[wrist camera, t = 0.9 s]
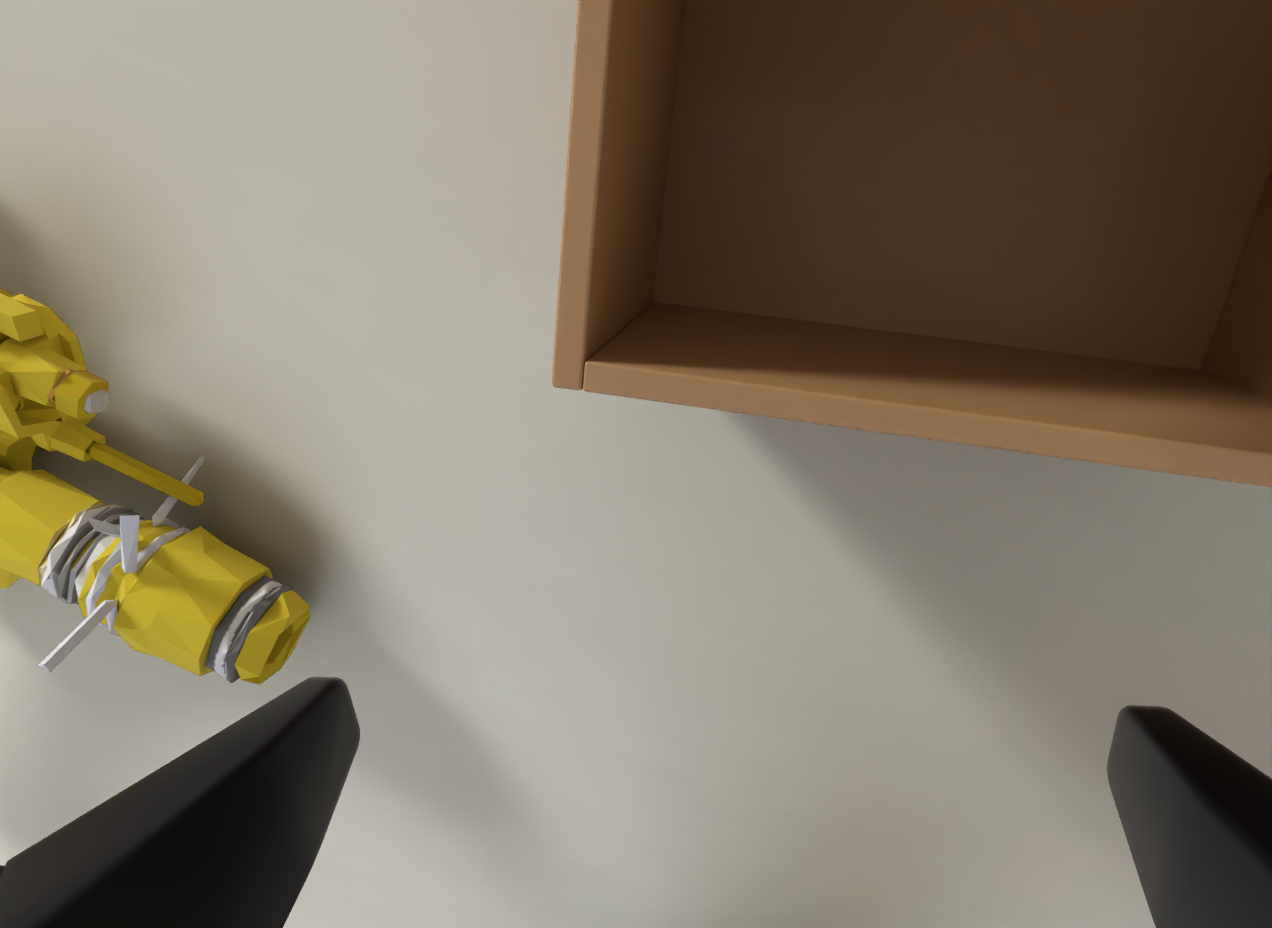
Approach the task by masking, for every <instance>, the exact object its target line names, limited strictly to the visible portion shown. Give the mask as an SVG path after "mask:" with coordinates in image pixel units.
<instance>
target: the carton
mask: <svg viewBox="0 0 1272 928" xmlns="http://www.w3.org/2000/svg"><path fill="white" fill-rule="evenodd" d="M552 384H553V386H554V387H557V388H565V389H572V390H581V389H582V388H583V390H584V391H586V392H593V393H600V394H607V395H615V396H622V397H629V398H636V399H643V400H650V401H658V402H665V403H672V404H679V405H686V406H693V407H700V408H708V409H715V410H722V411H729V412H736V413H743V414H751V415H758V416H765V417H772V418H779V419H786V420H793V421H801V422H808V423H815V424H822V425H829V426H836V427H844V428H851V429H858V430H865V431H872V432H879V433H886V434H894V435H901V436H908V437H915V438H922V439H929V440H937V441H944V442H951V443H958V444H965V445H972V446H979V447H987V448H994V449H1001V450H1008V451H1015V452H1022V453H1030V454H1037V455H1044V456H1051V457H1058V458H1065V459H1072V460H1080V461H1087V462H1094V463H1101V464H1108V465H1115V466H1123V467H1130V468H1137V469H1144V470H1151V471H1158V472H1166V473H1173V474H1180V475H1187V476H1194V477H1201V478H1208V479H1216V480H1223V481H1230V482H1237V483H1244V484H1251V485H1259V486H1266V487H1272V0H578V9H577V24H576V39H575V53H574V68H573V83H572V97H571V112H570V127H569V141H568V156H567V171H566V186H565V200H564V215H563V230H562V244H561V259H560V274H559V288H558V303H557V318H556V332H555V347H554V362H553V376H552Z"/></svg>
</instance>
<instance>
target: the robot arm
mask: <svg viewBox="0 0 1272 928" xmlns="http://www.w3.org/2000/svg"><path fill="white" fill-rule="evenodd" d="M359 740H360V728H359V723H358V720H357V717H356V713H355V710H354V707H353V703H352V700H351V697H350V694H349V690H348V687H347V685H346V683H345V682H344V681H343V680H342V679H339V678H331V677H312V678H308V679H306V680H305V681H303V682H301V683H300V684H298V685H296V686H295V687H293V688H291V689H290V690H288V691H286V692H285V693H283V694H282V695H280V696H278V697H277V698H275V699H273V700H272V701H270V702H268V703H267V704H265V705H263V706H262V707H260V708H258V709H257V710H255V711H254V712H252V713H250V714H249V715H247V716H245V717H244V718H242V719H240V720H239V721H237V722H235V723H234V724H232V725H230V726H229V727H227V728H226V729H224V730H222V731H221V732H219V733H217V734H216V735H214V736H212V737H211V738H209V739H207V740H206V741H204V742H202V743H201V744H199V745H197V746H196V747H194V748H193V749H191V750H189V751H188V752H186V753H184V754H183V755H181V756H179V757H178V758H176V759H174V760H173V761H171V762H169V763H168V764H166V765H165V766H163V767H161V768H160V769H158V770H156V771H155V772H153V773H151V774H150V775H148V776H146V777H145V778H143V779H141V780H140V781H138V782H137V783H135V784H133V785H132V786H130V787H128V788H127V789H125V790H123V791H122V792H120V793H118V794H117V795H115V796H113V797H112V798H110V799H108V800H107V801H105V802H104V803H102V804H100V805H99V806H97V807H95V808H94V809H92V810H90V811H89V812H87V813H85V814H84V815H82V816H80V817H79V818H77V819H76V820H74V821H72V822H71V823H69V824H67V825H66V826H64V827H62V828H61V829H59V830H57V831H56V832H54V833H52V834H51V835H49V836H48V837H46V838H44V839H43V840H41V841H39V842H38V843H36V844H34V845H33V846H31V847H29V848H28V849H26V850H24V851H23V852H21V853H19V854H18V855H16V856H15V857H13V858H11V859H10V860H8V862H7V863H6V865H5V866H2V865H1V866H0V928H283V926H284V924H285V922H286V920H287V918H288V916H289V914H290V912H291V910H292V908H293V906H294V904H295V901H296V899H297V897H298V895H299V893H300V891H301V889H302V887H303V885H304V883H305V881H306V879H307V877H308V874H309V872H310V870H311V868H312V866H313V864H314V861H315V859H316V857H317V854H318V852H319V849H320V847H321V844H322V842H323V839H324V836H325V834H326V831H327V828H328V826H329V823H330V820H331V818H332V815H333V812H334V810H335V807H336V804H337V802H338V799H339V796H340V794H341V791H342V788H343V786H344V783H345V780H346V778H347V775H348V772H349V770H350V767H351V765H352V762H353V759H354V757H355V754H356V751H357V748H358V745H359ZM1107 772H1108V780H1109V785H1110V788H1111V791H1112V794H1113V797H1114V801H1115V804H1116V807H1117V810H1118V813H1119V816H1120V819H1121V822H1122V825H1123V829H1124V832H1125V835H1126V838H1127V841H1128V844H1129V847H1130V850H1131V853H1132V856H1133V860H1134V863H1135V866H1136V869H1137V872H1138V875H1139V878H1140V881H1141V884H1142V888H1143V891H1144V894H1145V897H1146V900H1147V903H1148V906H1149V909H1150V912H1151V915H1152V918H1153V920H1154V923H1155V926H1156V928H1272V779H1271V778H1270V777H1268V776H1267V775H1265V774H1264V773H1262V772H1261V771H1259V770H1258V769H1257V768H1255V767H1254V766H1252V765H1251V764H1249V763H1248V762H1246V761H1245V760H1243V759H1242V758H1240V757H1239V756H1238V755H1236V754H1235V753H1233V752H1232V751H1230V750H1229V749H1227V748H1226V747H1224V746H1223V745H1222V744H1220V743H1219V742H1217V741H1216V740H1214V739H1213V738H1211V737H1210V736H1208V735H1207V734H1205V733H1204V732H1203V731H1201V730H1200V729H1198V728H1197V727H1195V726H1194V725H1192V724H1191V723H1189V722H1188V721H1187V720H1185V719H1184V718H1182V717H1181V716H1179V715H1178V714H1176V713H1175V712H1173V711H1171V710H1170V709H1168V708H1165V707H1159V706H1126V707H1124V708H1122V710H1121V711H1120V713H1119V715H1118V718H1117V722H1116V727H1115V731H1114V736H1113V740H1112V745H1111V749H1110V753H1109V758H1108V764H1107Z"/></svg>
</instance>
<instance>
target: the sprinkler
mask: <svg viewBox="0 0 1272 928" xmlns="http://www.w3.org/2000/svg"><path fill="white" fill-rule="evenodd" d="M109 397H110V393H108V382H107V381H105V380H103V379H101V378H99V377H97V376H95V375H93V374H91V373H89V372H88V370H87V368H86V365H85V361H84V358H83V354H82V350H81V347H80V343H79V340H78V337H77V336H76V335H75V334H74V333H73V332H72V331H71V330H70V328H69V327H68V326H67V325H66V324H65V323H64V322H63V321H62V320H61V319H60V318H59V317H58V316H57V315H56V314H55V313H54V312H53V311H52V310H51V309H50V308H49V307H47V306H45V305H43V304H41V303H39V302H37V301H35V300H33V299H31V298H29V297H27V296H25V295H23V294H19V295H17V296H14V295H12V294H10V293H8V292H6V291H4V290H2V289H0V588H8V587H9V586H10V585H12V584H13V583H14V582H16V581H17V580H18V579H19V578H21V577H22V578H24V579H27V580H29V581H31V582H33V583H35V584H37V585H39V586H41V587H42V588H43V589H45V590H46V591H47V592H49V593H50V594H51V595H52V596H54V597H55V598H56V599H58V600H59V599H62V602H65V603H69V604H73V603H74V604H79V607H80V608H81V611H82V614H83V616H84V617H87V618H86V619H85V620H84V621H83V622H82V623H81V624H80V625H79V626H78V627H77V628H76V629H75V630H74V631H73V632H72V633H71V634H70V635H69V636H67V637H66V638H65V639H64V640H63V641H62V642H61V643H60V644H59V645H58V646H57V647H56V648H55V649H54V650H53V651H52V652H51V653H50V654H49V655H48V656H47V657H46V658H45V659H44V660H43V661H42V662H41V663H40V664H39V665H38V666H39V667H41V668H43V669H46V670H48V671H50V672H51V671H52V670H53V669H54V668H55V667H56V666H57V665H58V664H59V663H60V662H61V661H62V660H63V659H64V658H65V657H66V656H67V655H68V654H69V653H70V652H71V651H72V650H73V649H74V648H75V647H76V646H77V645H78V644H79V643H80V642H81V641H82V640H83V639H84V638H85V637H86V636H87V635H88V634H89V633H90V632H91V631H92V630H93V629H94V628H95V627H96V626H97V625H98V626H101V627H105V628H108V629H109V631H110V634H114V635H118V636H121V637H122V638H123V640H124V641H125V642H126V643H127V644H128V645H129V646H130V647H131V648H132V649H133V650H135V651H138V652H142V653H145V654H149V655H152V656H156V657H159V658H161V659H163V660H165V661H168V662H170V663H172V664H174V665H177V666H179V667H181V668H183V669H185V670H188V671H190V672H192V673H194V674H196V675H199V676H202V675H204V674H206V673H209V672H211V671H215V672H216V673H218V674H219V675H221V676H222V677H224V678H225V679H226V680H228V681H230V682H231V683H233V682H234V681H236V680H237V679H239V678H241V680H244V681H248V682H252V683H256V684H261V683H263V682H264V681H265V680H267V679H268V678H269V677H271V676H272V675H273V674H275V673H276V672H278V671H279V670H280V669H281V668H282V666H283V665H284V663H285V662H286V660H287V659H288V658H289V656H290V655H291V653H292V652H293V650H294V648H295V646H296V644H297V642H298V640H299V638H300V636H301V634H302V632H303V630H304V628H305V626H306V624H307V622H308V619H309V617H310V614H309V612H308V609H309V608H310V607H311V606H310V605H309V604H307V603H306V602H305V601H304V600H303V599H302V598H301V597H300V596H299V595H298V594H297V593H295V592H294V591H293V590H291V587H289V586H287V585H285V584H283V585H282V584H280V583H278V582H276V581H275V580H273V579H272V578H273V575H272V573H271V571H270V569H269V568H268V567H266V566H264V565H262V564H261V563H259V562H257V561H255V560H253V559H252V558H250V557H248V556H246V555H244V554H242V553H241V552H239V551H237V550H235V549H233V548H232V547H230V546H228V545H226V544H224V543H223V542H221V541H220V540H219V539H217V538H216V537H214V536H213V535H212V534H210V533H209V532H208V531H206V530H205V529H203V528H202V527H201V526H200V527H198V528H196V529H194V530H193V531H190V530H189V529H187V528H185V527H181V528H179V526H178V524H176V523H174V522H173V521H171V520H169V519H167V518H165V517H166V516H167V514H168V513H169V512H170V510H171V509H172V507H173V506H174V504H175V503H176V501H177V500H178V499H179V500H181V501H183V502H185V503H187V504H189V505H191V506H196V507H198V506H200V505H201V504H202V503H204V494H203V492H201V491H199V490H197V489H195V488H193V487H191V486H189V485H188V484H189V483H190V481H191V480H192V478H193V477H194V475H195V474H196V472H197V471H198V470H199V468H200V467H201V465H202V464H203V462H204V461H205V460H204V459H203V457H202V456H201V457H200V458H199V459H198V460H197V462H196V463H195V464H194V465H193V467H192V468H191V469H190V470H189V471H188V473H187V474H186V475H185V476H184V478H183V479H182V480H181V481H179V480H177V479H175V478H173V477H171V476H169V475H167V474H165V473H162V472H160V471H158V470H156V469H154V468H152V467H150V466H148V465H146V464H144V463H142V462H140V461H138V460H136V459H134V458H132V457H130V456H128V455H126V454H124V453H122V452H120V451H117V450H115V449H113V448H111V447H109V446H107V445H105V439H106V437H105V436H103V435H101V434H99V433H97V432H96V431H94V430H92V429H90V428H88V427H87V426H85V425H86V424H88V423H89V422H90V421H91V420H92V419H93V418H94V417H95V416H96V415H97V413H98V412H106V408H107V405H108V401H109ZM37 445H38V446H40V447H42V448H44V449H46V450H48V451H50V452H52V451H60V452H62V453H65V454H67V455H69V456H71V457H74V458H76V459H78V460H81V461H83V462H85V461H91V460H97V461H99V462H101V463H103V464H105V465H107V466H109V467H111V468H113V469H115V470H118V471H120V472H122V473H124V474H126V475H128V476H130V477H132V478H134V479H136V480H139V481H141V482H143V483H145V484H147V485H149V486H151V487H153V488H155V489H158V490H160V491H162V492H164V493H166V494H168V495H169V496H168V498H167V499H166V500H165V501H164V503H163V504H162V505H161V506H160V508H159V509H158V510H157V511H156V513H155V514H154V515H153V516H152V520H147V519H144V518H142V517H140V514H138V513H133V509H128V508H123V507H120V506H118V505H112V504H110V505H108V504H106V503H105V502H103V501H101V500H99V499H97V498H95V497H93V496H92V495H90V494H88V493H86V492H84V491H82V490H80V489H79V488H77V487H75V486H73V485H71V484H69V483H67V482H66V481H64V480H62V479H60V478H58V477H56V476H54V475H53V474H51V473H49V472H47V471H45V470H43V469H42V470H32V457H33V454H34V451H35V448H36V446H37Z"/></svg>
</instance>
